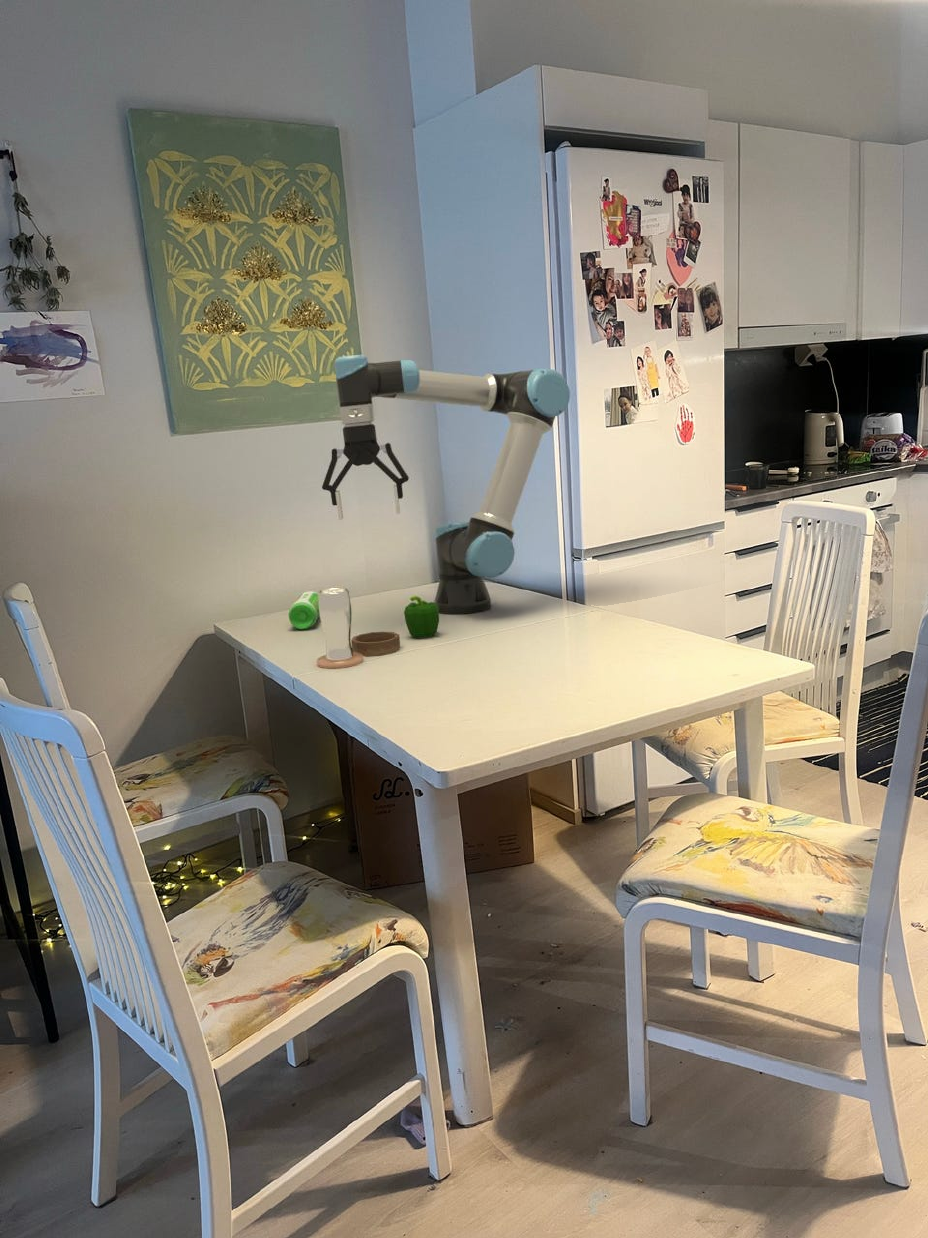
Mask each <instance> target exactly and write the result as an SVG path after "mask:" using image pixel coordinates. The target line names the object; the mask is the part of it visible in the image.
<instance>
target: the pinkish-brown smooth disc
mask: <svg viewBox="0 0 928 1238" xmlns="http://www.w3.org/2000/svg"><path fill="white" fill-rule="evenodd" d="M353 654H354V657H353V658H351V659H349V660H344V661H328V660H326V654H325V655H322V656H319V657H318V658H317V659H316V663H317V664H316V665H317V667H318V668H321V669H330V670H331V669H344V668H350V667H354V666H357V665H360V664H362V663H363V662H364V656H363V655H362V654H360V653H356V652H353Z"/></svg>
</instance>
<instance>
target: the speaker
mask: <svg viewBox="0 0 928 1238" xmlns="http://www.w3.org/2000/svg"><path fill="white" fill-rule="evenodd" d="M318 618H320V615H319V604H318V592H316V591H311V590H308V591H305V592H303V593H301V594H300V595H299V597H298V598H297V600H296V601H295V602H294V603H293V604H292V605H291V606H290V608H289V610H288V619H289V622H290V623H291V625H292V626H293V627H294V628H296V629H299V630H307V629H310V628H311V627H313V626H315V624H316V622H317V621H318ZM316 620H317V621H316Z"/></svg>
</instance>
